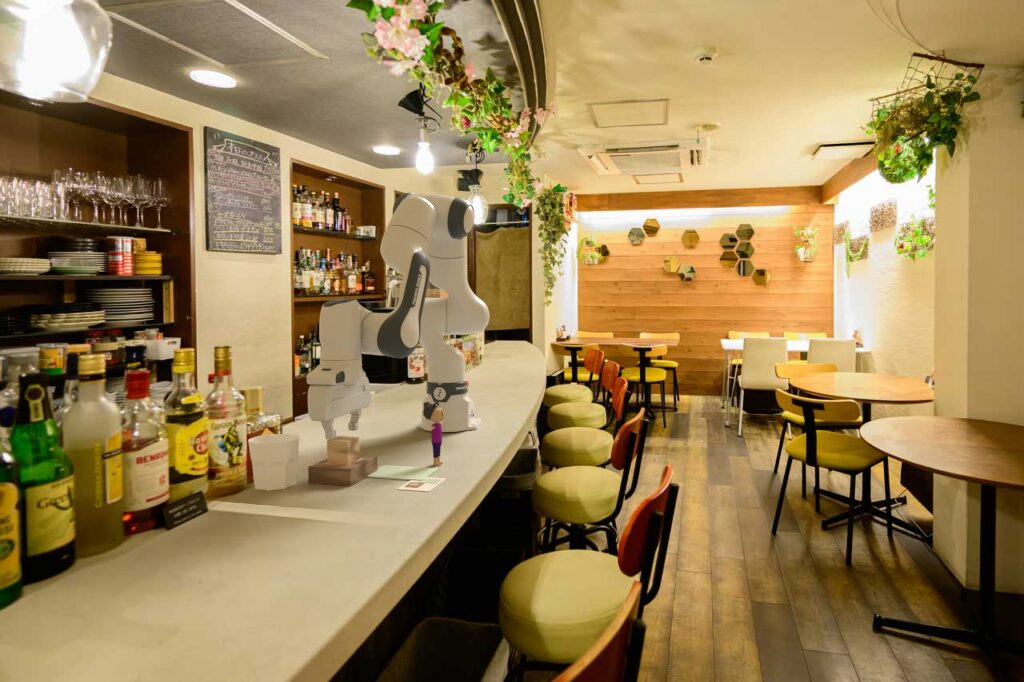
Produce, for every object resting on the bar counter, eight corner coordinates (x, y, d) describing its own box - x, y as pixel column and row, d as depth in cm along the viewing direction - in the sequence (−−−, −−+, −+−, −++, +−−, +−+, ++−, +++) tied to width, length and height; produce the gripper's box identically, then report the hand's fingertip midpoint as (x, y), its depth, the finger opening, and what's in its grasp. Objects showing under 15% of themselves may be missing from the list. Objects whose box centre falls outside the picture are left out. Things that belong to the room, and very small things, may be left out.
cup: (310, 481, 132) (309, 435, 131) (278, 493, 122) (277, 444, 122) (272, 477, 135) (271, 432, 134) (238, 489, 125) (237, 441, 125)
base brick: (338, 469, 141) (337, 454, 141) (377, 471, 139) (377, 456, 139) (308, 482, 130) (308, 466, 130) (350, 486, 127) (350, 469, 127)
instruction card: (416, 476, 134) (416, 475, 134) (446, 478, 133) (446, 477, 133) (397, 489, 125) (397, 488, 125) (429, 491, 123) (429, 490, 123)
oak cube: (339, 457, 137) (339, 435, 137) (359, 459, 136) (359, 436, 136) (327, 463, 133) (326, 440, 132) (348, 464, 131) (347, 441, 131)
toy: (437, 470, 140) (436, 405, 139) (414, 469, 141) (413, 405, 140) (450, 460, 150) (450, 399, 149) (429, 459, 151) (428, 399, 150)
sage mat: (383, 466, 144) (383, 465, 144) (438, 469, 141) (438, 468, 141) (362, 477, 134) (362, 475, 134) (421, 481, 131) (421, 479, 131)
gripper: (352, 366, 145) (353, 424, 145) (301, 376, 125) (303, 443, 126) (376, 367, 143) (377, 425, 144) (328, 377, 123) (330, 445, 124)
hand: (342, 434), depth 135 cm, fingers open, 8 cm apart
